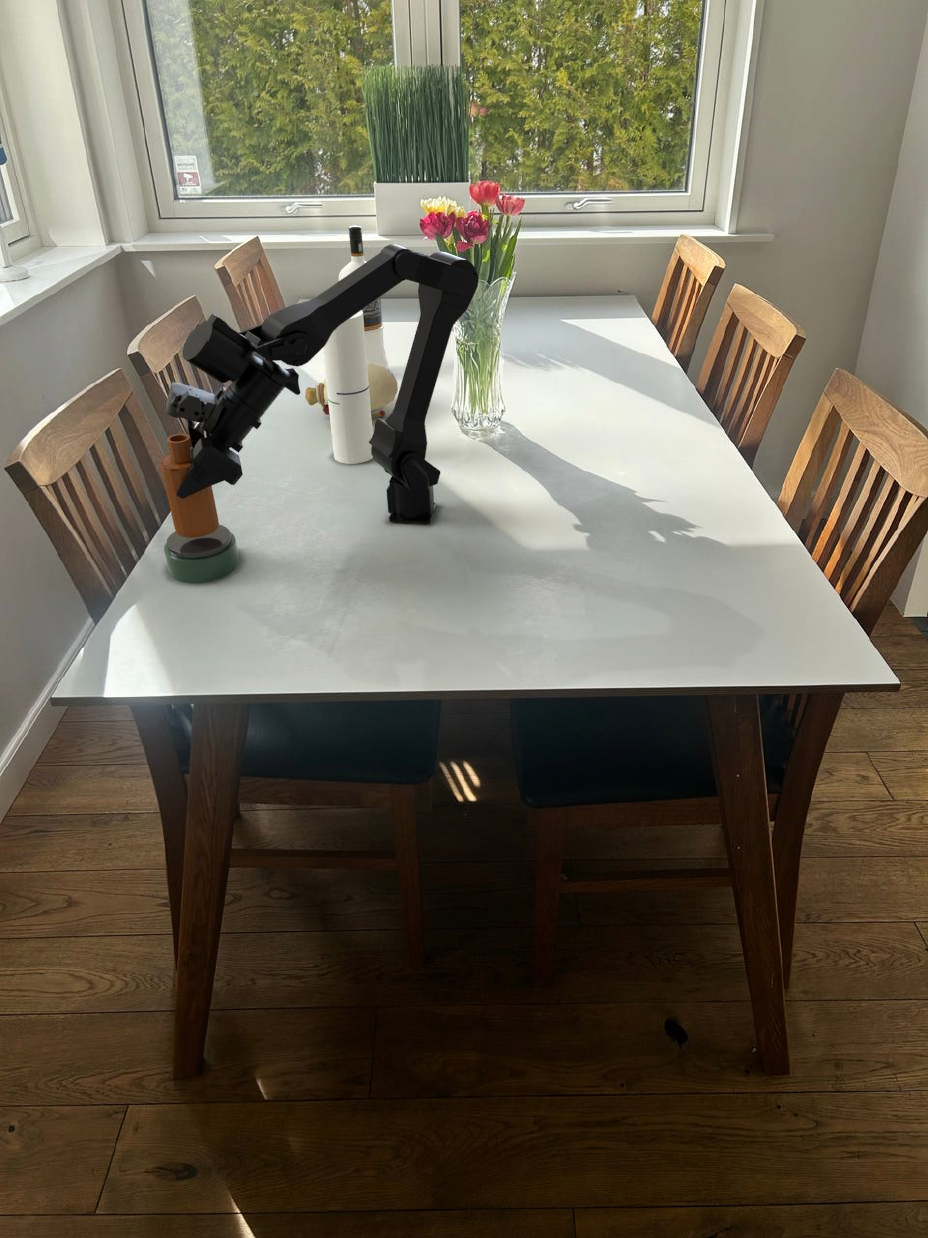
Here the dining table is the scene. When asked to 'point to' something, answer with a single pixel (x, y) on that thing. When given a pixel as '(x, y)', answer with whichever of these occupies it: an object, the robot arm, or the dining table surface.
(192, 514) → the amber bottle
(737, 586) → the dining table surface
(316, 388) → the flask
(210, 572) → the green jar
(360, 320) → the cylindrical container
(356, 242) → the vodka
